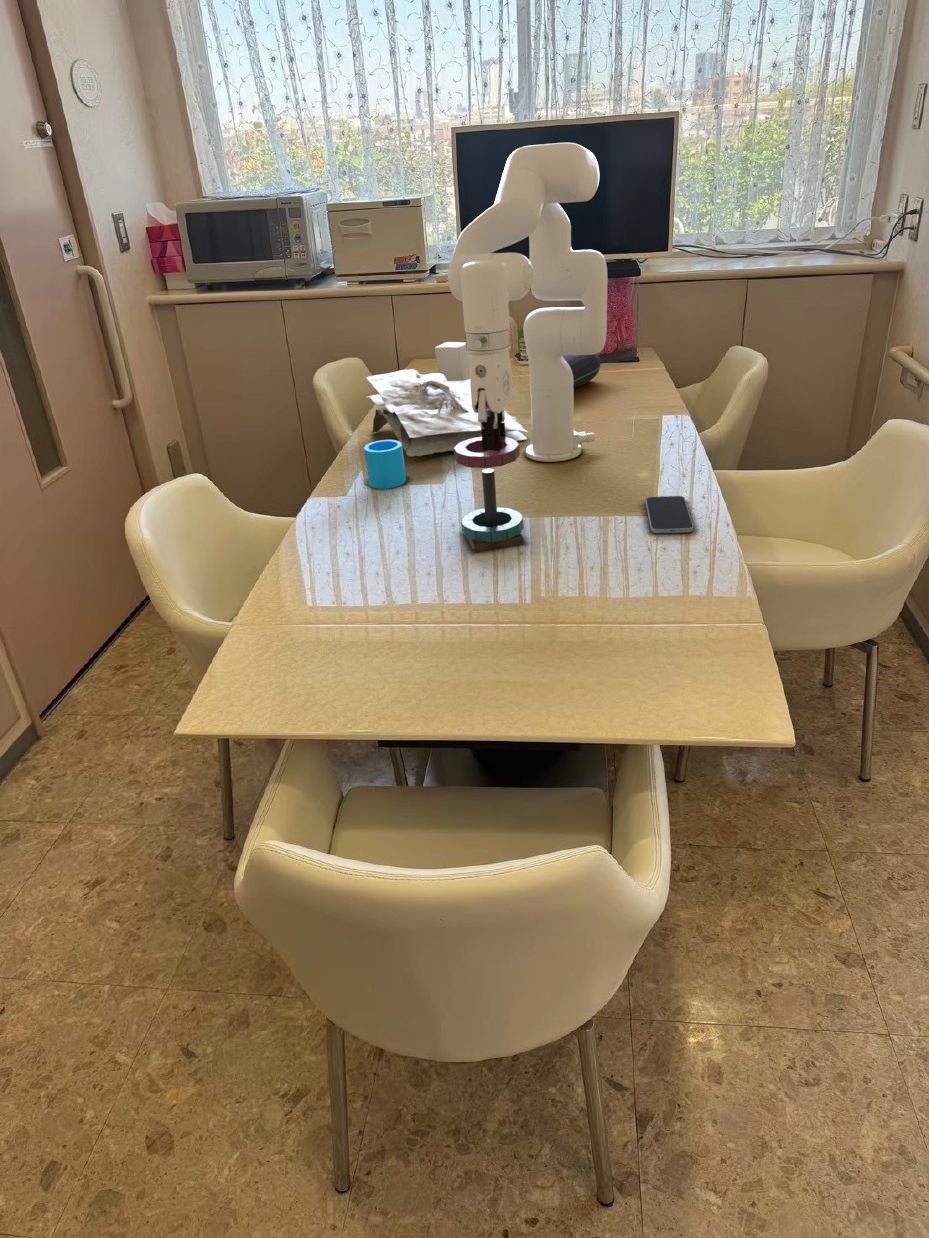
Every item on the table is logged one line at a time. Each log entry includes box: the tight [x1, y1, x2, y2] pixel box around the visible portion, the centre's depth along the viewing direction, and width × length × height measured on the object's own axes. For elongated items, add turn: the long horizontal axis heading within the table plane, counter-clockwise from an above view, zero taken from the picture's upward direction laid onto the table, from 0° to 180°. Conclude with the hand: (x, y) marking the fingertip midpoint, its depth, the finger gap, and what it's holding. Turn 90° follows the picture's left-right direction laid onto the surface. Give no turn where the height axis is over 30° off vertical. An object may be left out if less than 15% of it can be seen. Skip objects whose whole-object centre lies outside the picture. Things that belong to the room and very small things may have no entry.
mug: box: [363, 439, 407, 489], centre depth 181 cm, size 12×8×8 cm
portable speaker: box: [563, 353, 601, 390], centre depth 234 cm, size 25×10×10 cm, turn 144°
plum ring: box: [453, 436, 521, 469], centre depth 143 cm, size 11×11×2 cm
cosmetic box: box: [434, 341, 470, 381], centre depth 232 cm, size 8×7×16 cm
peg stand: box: [465, 468, 524, 553], centre depth 148 cm, size 9×9×13 cm
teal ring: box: [460, 507, 525, 542], centre depth 151 cm, size 11×11×2 cm
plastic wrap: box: [365, 368, 528, 457], centre depth 206 cm, size 35×16×32 cm
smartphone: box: [645, 495, 694, 534], centre depth 153 cm, size 7×1×15 cm
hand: (494, 446), depth 147 cm, fingers closed on plum ring, 2 cm apart
